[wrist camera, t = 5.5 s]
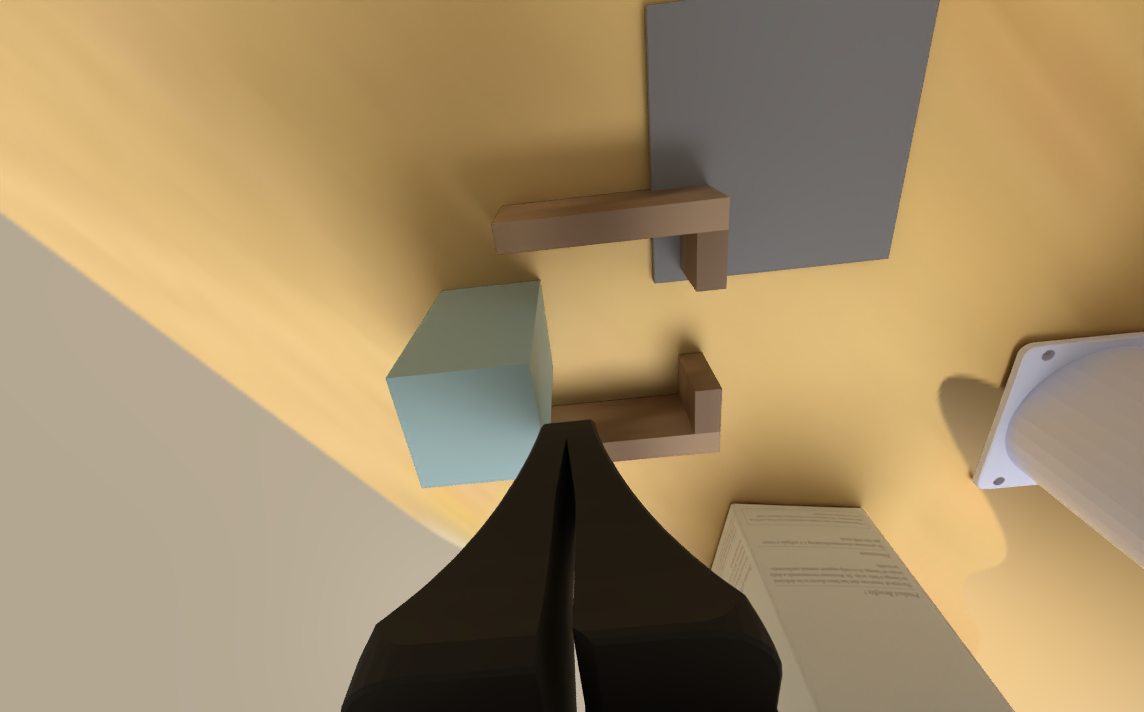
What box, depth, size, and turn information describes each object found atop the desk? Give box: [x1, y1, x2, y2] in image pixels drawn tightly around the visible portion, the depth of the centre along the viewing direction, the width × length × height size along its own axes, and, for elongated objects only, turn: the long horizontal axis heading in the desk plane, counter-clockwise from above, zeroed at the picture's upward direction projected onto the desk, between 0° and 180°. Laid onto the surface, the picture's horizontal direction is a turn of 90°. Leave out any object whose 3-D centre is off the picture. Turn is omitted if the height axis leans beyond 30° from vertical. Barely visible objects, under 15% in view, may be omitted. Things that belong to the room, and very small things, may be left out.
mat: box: [645, 0, 940, 283], centre depth 17 cm, size 9×9×1 cm
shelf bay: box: [491, 185, 730, 462], centre depth 19 cm, size 8×10×3 cm
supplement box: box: [711, 504, 1015, 712], centre depth 21 cm, size 7×7×13 cm
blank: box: [386, 280, 553, 488], centre depth 17 cm, size 4×4×7 cm
